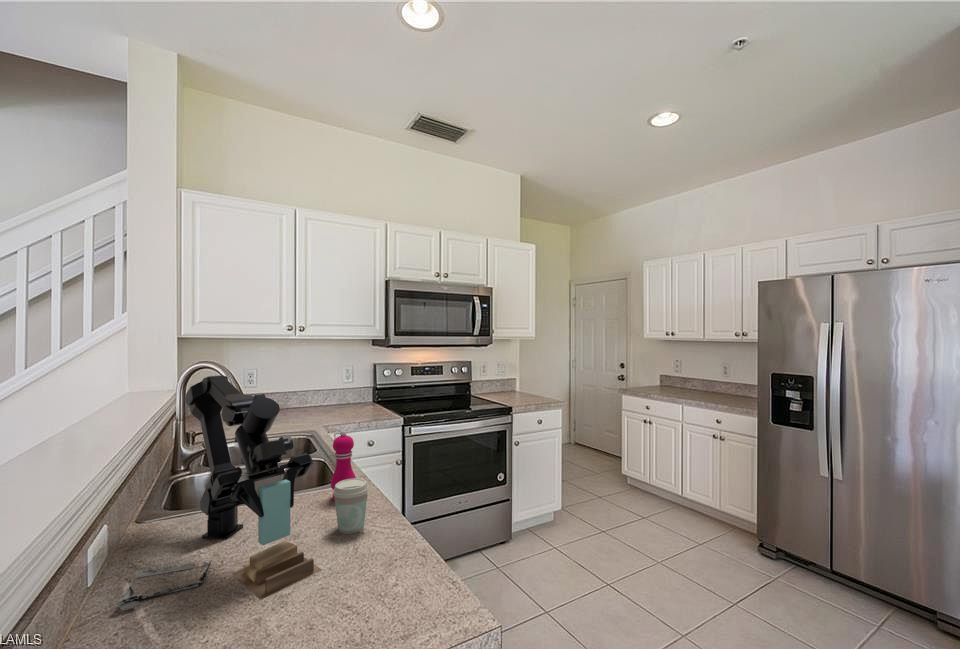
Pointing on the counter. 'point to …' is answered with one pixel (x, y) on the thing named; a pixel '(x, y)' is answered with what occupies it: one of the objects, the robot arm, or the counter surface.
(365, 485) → the coffee cup
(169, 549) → the counter surface
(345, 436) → the pepper mill
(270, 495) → the turquoise upright pillar
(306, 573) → the walnut rack
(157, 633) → the counter surface
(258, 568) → the offcut stack
